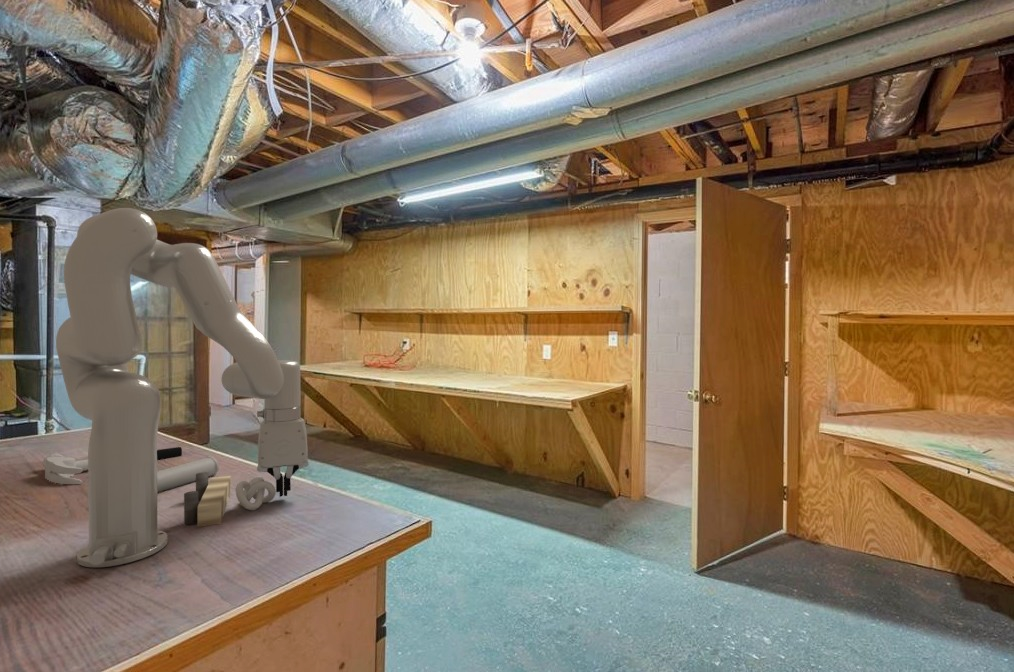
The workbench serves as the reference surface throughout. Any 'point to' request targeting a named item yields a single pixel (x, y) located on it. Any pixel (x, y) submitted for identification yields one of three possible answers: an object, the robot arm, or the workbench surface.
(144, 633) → the workbench surface
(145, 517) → the robot arm
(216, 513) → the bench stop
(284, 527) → the workbench surface
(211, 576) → the workbench surface
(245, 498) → the knot
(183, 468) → the tube
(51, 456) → the claw hammer
